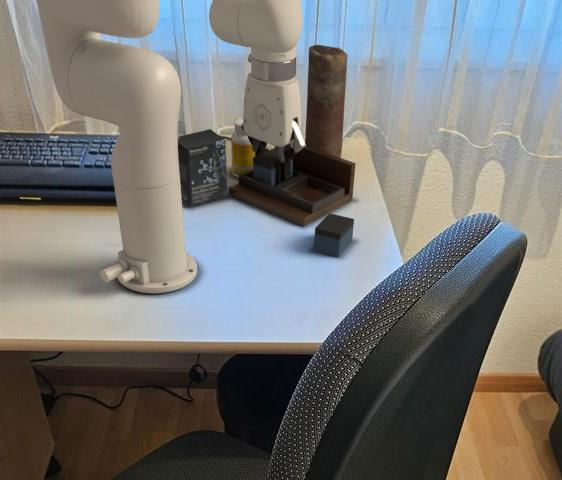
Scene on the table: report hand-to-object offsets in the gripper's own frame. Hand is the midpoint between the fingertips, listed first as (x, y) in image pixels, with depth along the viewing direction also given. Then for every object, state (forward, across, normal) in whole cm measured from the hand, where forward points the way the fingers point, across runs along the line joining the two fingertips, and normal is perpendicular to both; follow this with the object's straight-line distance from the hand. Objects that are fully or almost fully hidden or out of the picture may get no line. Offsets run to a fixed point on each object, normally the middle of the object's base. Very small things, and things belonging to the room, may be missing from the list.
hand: (272, 176), depth 139 cm
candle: (+3, -1, +17) cm, 17 cm away
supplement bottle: (+3, -8, +2) cm, 9 cm away
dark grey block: (0, 0, 0) cm, 0 cm away
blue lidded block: (+3, +22, -9) cm, 23 cm away
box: (+3, -8, -11) cm, 14 cm away
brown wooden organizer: (+3, +4, 0) cm, 5 cm away
